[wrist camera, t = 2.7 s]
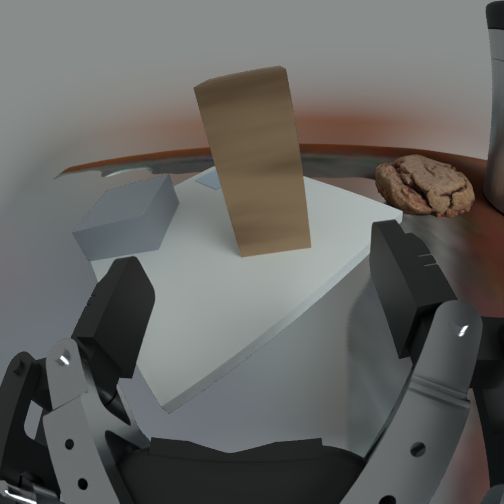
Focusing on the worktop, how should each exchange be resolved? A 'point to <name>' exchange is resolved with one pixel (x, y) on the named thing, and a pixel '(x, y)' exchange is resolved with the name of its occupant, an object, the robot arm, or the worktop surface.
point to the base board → (219, 272)
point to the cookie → (424, 187)
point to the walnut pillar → (257, 158)
